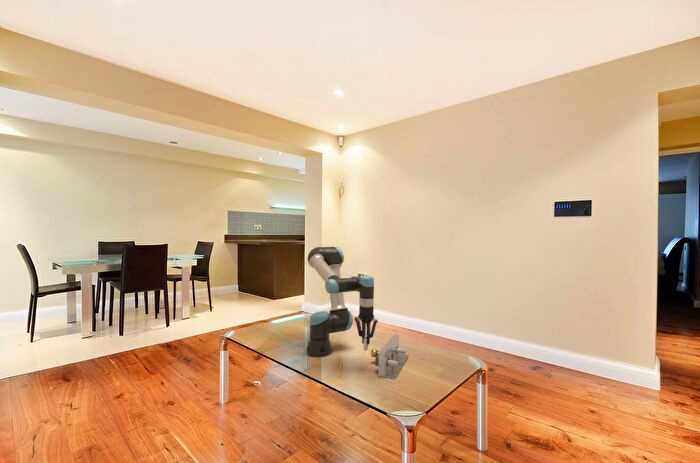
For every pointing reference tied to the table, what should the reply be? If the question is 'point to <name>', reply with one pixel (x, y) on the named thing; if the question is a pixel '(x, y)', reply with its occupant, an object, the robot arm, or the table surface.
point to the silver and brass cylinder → (374, 353)
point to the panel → (391, 358)
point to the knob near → (389, 362)
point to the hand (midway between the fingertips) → (365, 349)
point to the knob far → (400, 350)
